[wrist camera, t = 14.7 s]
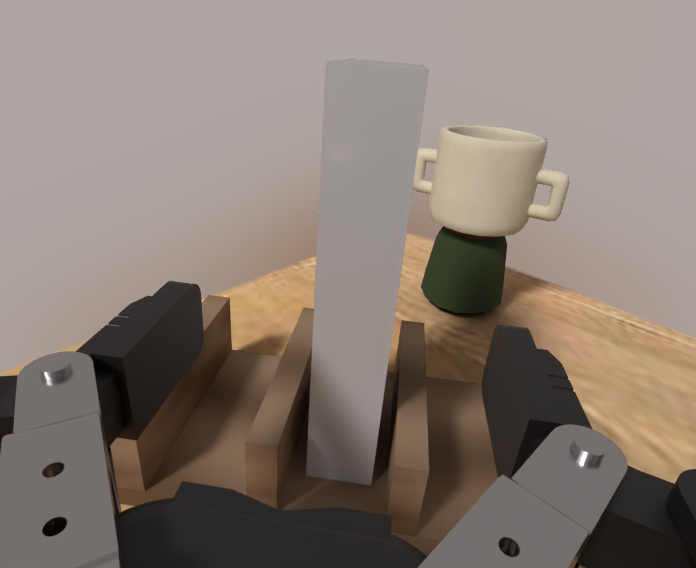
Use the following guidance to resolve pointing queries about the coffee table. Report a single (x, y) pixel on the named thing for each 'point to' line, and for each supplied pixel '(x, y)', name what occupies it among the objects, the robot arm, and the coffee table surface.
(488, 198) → the character mug
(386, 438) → the drying rack
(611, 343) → the coffee table surface
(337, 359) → the clay strip
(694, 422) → the coffee table surface
